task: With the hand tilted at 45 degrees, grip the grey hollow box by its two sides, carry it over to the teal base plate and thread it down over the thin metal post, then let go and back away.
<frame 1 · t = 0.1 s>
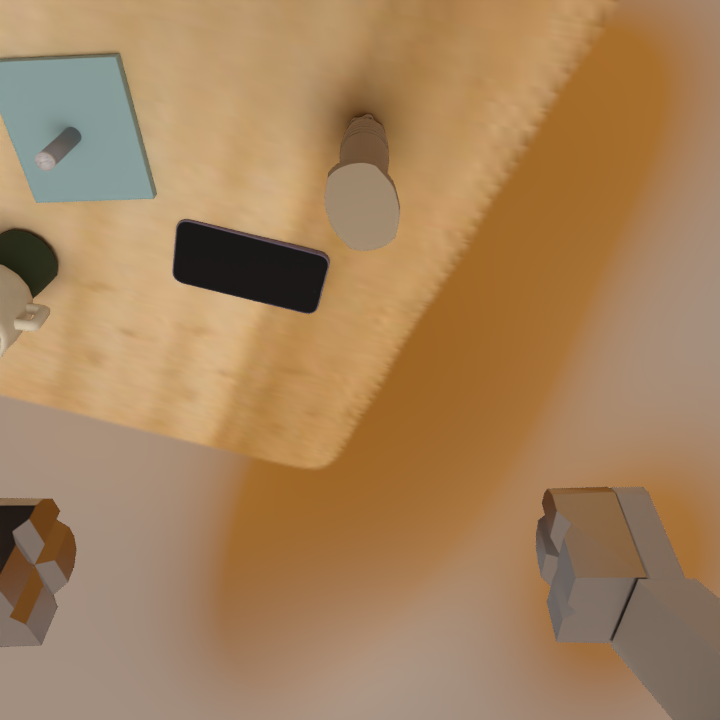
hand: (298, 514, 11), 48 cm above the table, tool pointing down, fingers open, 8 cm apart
post base: (77, 131, 55), on the table
smartphone: (251, 263, 63), on the table
character mug: (29, 254, 63), on the table
handle: (365, 130, 54), on the table
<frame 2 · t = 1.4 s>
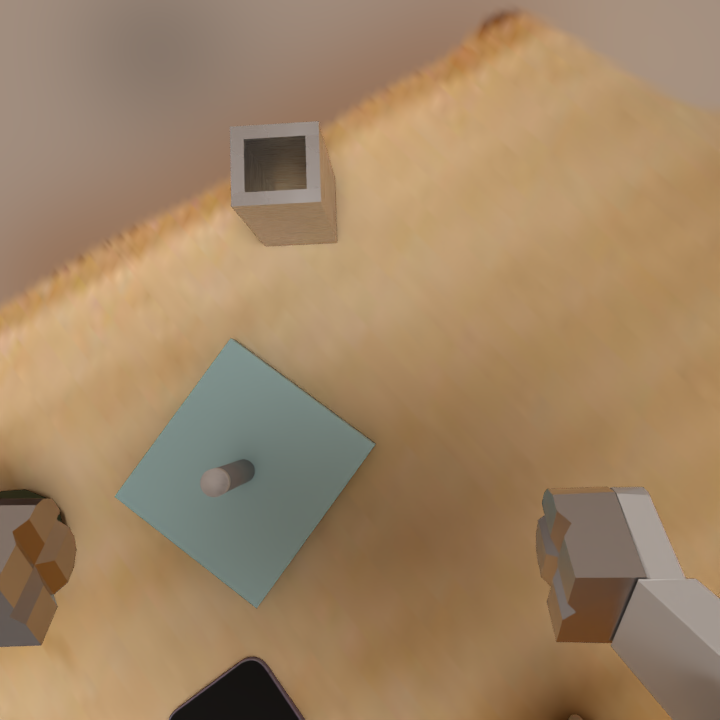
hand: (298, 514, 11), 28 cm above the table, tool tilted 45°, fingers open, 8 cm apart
grey hollow box: (300, 212, 40), on the table
post base: (247, 469, 39), on the table
character mug: (24, 537, 40), on the table
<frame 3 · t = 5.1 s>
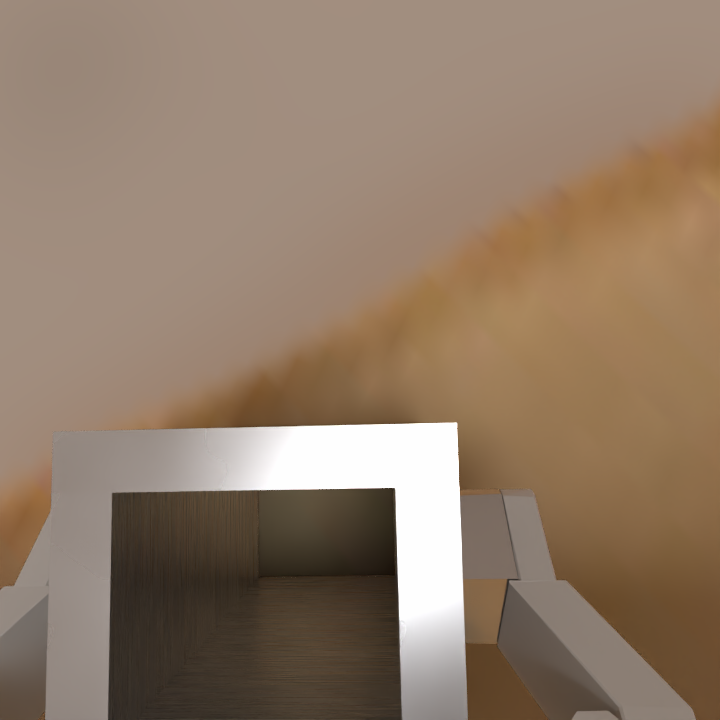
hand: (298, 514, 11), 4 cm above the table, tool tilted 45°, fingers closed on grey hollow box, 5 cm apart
grey hollow box: (325, 515, 15), on the table, touching gripper
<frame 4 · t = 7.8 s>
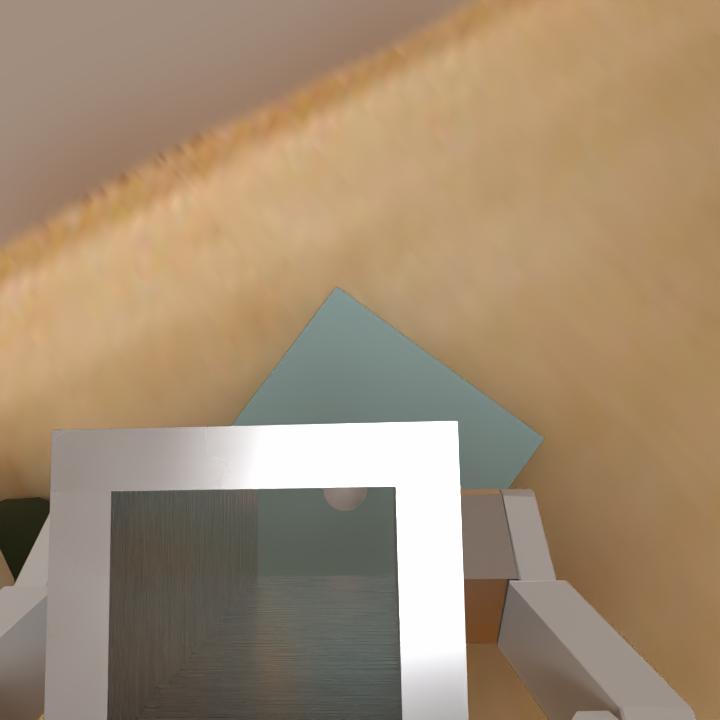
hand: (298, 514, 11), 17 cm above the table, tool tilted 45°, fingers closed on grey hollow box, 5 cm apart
grey hollow box: (325, 514, 15), point 13 cm above the table, touching gripper
post base: (356, 472, 28), on the table
character mug: (35, 565, 28), on the table
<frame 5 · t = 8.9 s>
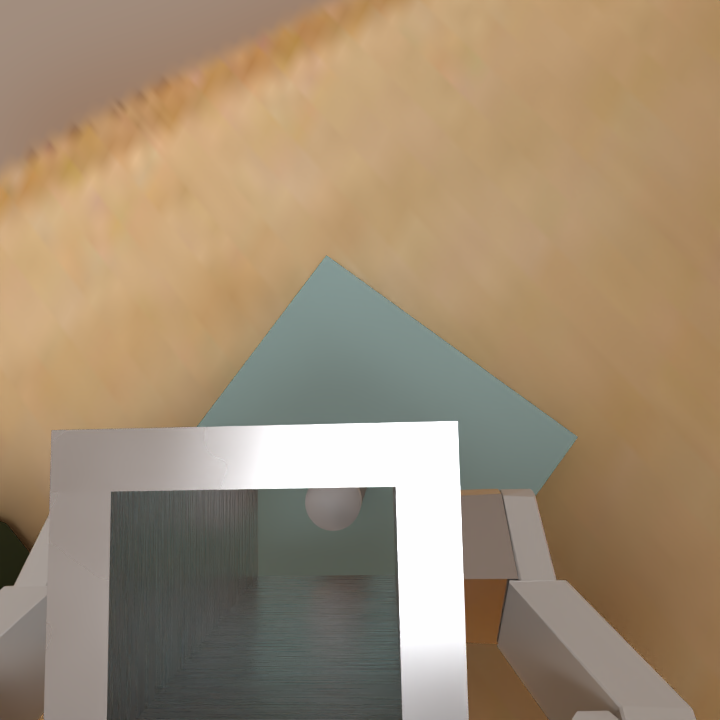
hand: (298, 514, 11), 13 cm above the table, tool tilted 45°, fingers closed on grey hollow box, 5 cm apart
grey hollow box: (325, 514, 15), point 8 cm above the table, touching gripper
post base: (350, 477, 23), on the table
when the fingers open (7 cm above the table, at t = 10.6 s): grey hollow box drops 1 cm, resting on post base.
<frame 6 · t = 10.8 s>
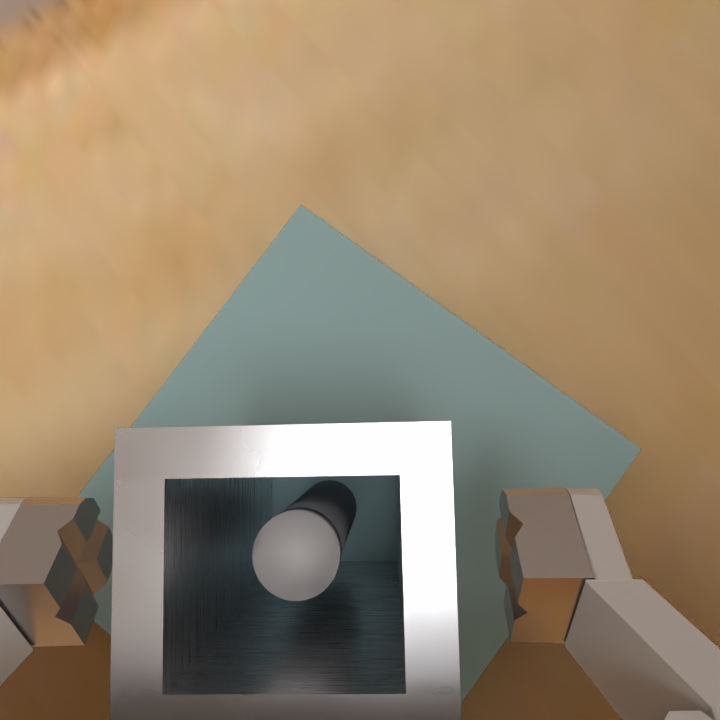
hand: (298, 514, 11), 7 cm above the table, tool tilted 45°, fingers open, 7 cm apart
grey hollow box: (334, 505, 16), point 1 cm above the table, touching post base
post base: (333, 502, 17), on the table
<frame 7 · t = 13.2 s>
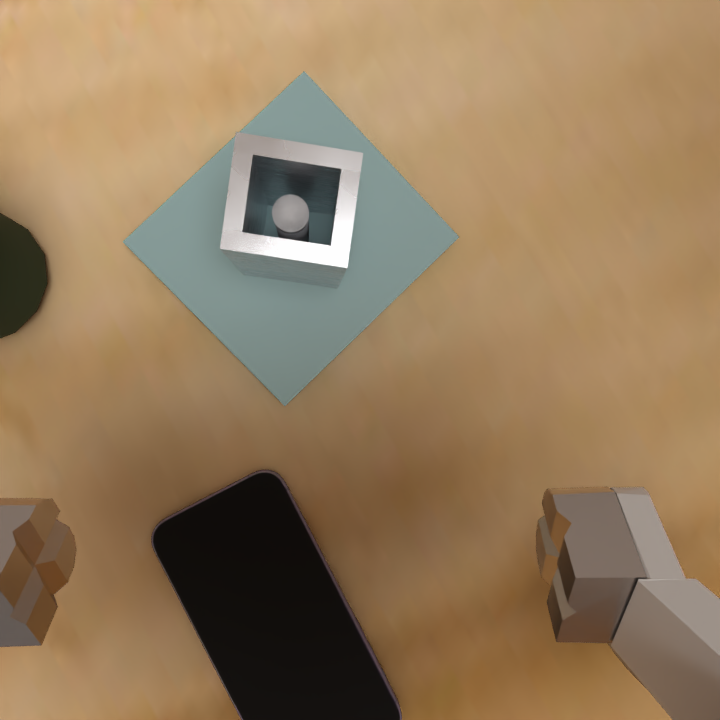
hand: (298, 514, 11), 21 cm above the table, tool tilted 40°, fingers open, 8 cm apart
grey hollow box: (296, 238, 31), point 1 cm above the table, touching post base
post base: (294, 242, 32), on the table
smartphone: (279, 619, 33), on the table
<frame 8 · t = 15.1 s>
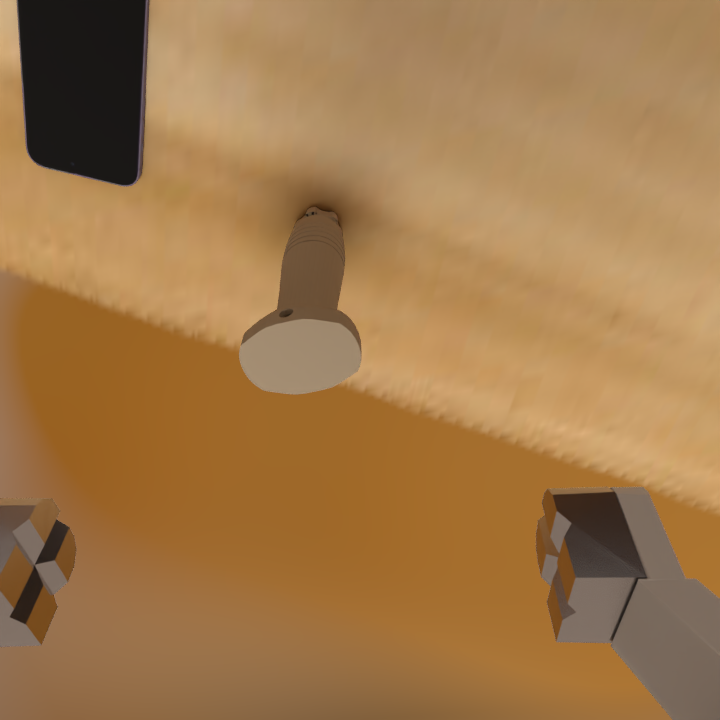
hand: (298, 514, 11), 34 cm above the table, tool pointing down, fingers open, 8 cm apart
smartphone: (89, 54, 38), on the table
handle: (319, 224, 45), on the table
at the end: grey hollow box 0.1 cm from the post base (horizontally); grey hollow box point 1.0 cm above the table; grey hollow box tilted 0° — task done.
